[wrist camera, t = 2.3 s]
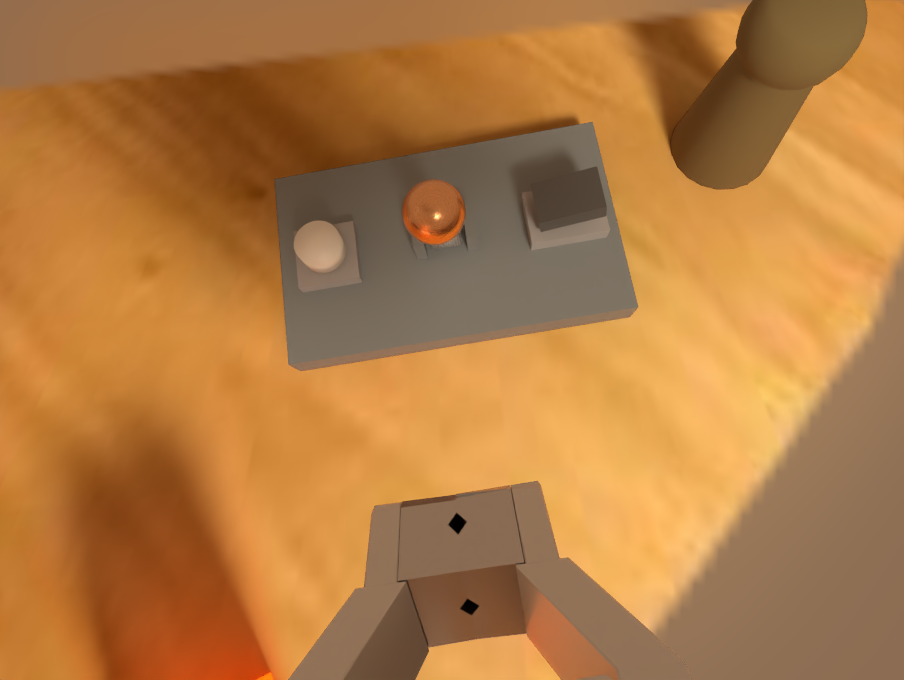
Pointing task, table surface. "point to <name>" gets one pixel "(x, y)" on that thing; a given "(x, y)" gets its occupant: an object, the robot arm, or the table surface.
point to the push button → (320, 246)
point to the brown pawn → (764, 86)
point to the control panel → (448, 253)
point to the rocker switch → (569, 199)
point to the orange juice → (266, 677)
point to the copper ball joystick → (434, 214)
